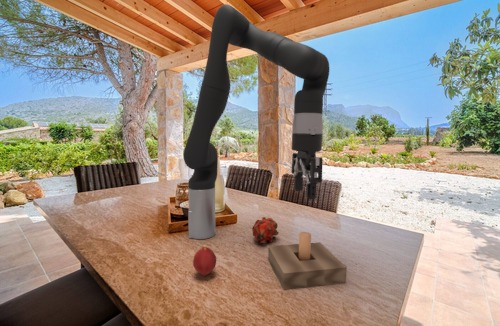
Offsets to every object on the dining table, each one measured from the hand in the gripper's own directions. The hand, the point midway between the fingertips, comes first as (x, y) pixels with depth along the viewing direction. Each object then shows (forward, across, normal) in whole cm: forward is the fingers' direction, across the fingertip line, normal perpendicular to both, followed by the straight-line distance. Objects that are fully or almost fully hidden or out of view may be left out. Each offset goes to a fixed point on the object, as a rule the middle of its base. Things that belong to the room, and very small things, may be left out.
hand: (304, 194), depth 64 cm
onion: (+21, 0, -26) cm, 33 cm away
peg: (+20, +1, 0) cm, 20 cm away
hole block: (+20, +1, 0) cm, 20 cm away
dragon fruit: (+21, -18, -6) cm, 28 cm away
